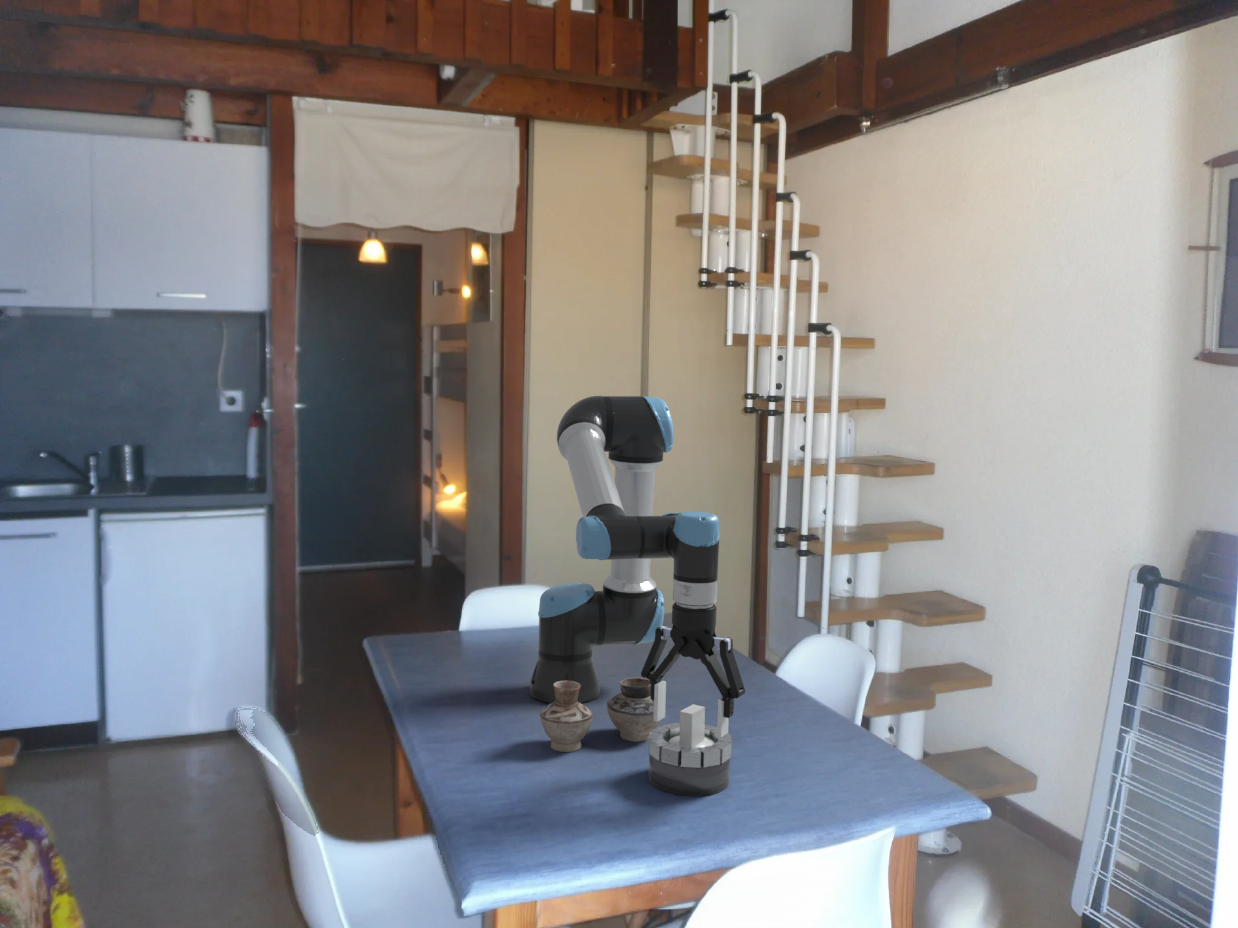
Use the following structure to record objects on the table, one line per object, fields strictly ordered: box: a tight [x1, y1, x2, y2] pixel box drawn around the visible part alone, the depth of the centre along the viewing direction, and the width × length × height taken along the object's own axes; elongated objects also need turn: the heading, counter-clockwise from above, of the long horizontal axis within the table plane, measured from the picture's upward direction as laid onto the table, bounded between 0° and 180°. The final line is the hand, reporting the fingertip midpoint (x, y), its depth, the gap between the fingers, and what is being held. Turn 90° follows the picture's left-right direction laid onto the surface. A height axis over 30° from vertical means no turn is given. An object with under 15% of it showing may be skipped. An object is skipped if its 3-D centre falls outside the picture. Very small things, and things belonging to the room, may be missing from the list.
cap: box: [669, 703, 715, 748], centre depth 172 cm, size 8×8×8 cm
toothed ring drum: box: [648, 722, 733, 797], centre depth 173 cm, size 14×14×8 cm
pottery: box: [539, 677, 663, 753], centre depth 189 cm, size 11×25×12 cm, turn 116°
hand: (690, 726), depth 173 cm, fingers open, 12 cm apart
